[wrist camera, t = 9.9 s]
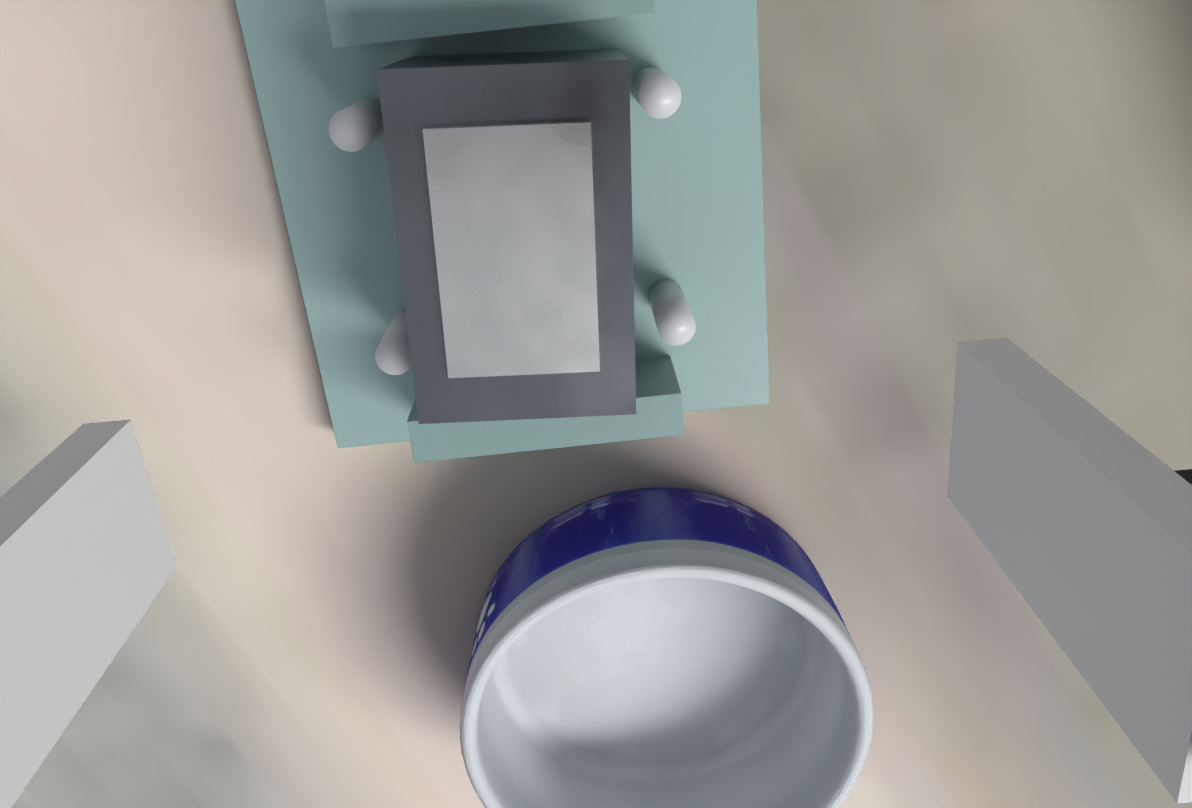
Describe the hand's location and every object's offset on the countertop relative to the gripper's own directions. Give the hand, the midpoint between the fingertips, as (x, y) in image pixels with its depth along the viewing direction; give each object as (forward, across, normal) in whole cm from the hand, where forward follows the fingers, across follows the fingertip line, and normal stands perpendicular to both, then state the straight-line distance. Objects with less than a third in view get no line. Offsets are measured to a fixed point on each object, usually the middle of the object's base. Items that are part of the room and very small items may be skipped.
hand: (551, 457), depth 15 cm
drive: (+18, +1, 0) cm, 18 cm away
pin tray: (+19, +1, 0) cm, 19 cm away
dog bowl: (+20, -2, +19) cm, 27 cm away
